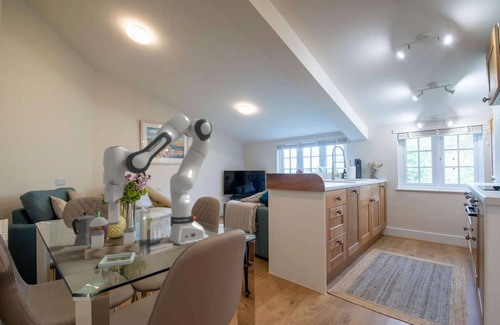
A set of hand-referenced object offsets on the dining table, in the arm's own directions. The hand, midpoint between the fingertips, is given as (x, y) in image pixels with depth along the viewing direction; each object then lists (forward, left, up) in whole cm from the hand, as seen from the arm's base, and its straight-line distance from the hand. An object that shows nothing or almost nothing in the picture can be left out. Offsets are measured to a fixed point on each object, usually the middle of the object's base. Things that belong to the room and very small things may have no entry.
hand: (114, 209), depth 107 cm
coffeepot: (+20, -25, -22) cm, 39 cm away
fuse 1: (+7, 0, -21) cm, 22 cm away
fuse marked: (0, 0, -7) cm, 7 cm away
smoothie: (+9, -11, -22) cm, 26 cm away
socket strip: (0, 0, -22) cm, 22 cm away
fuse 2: (-6, 0, -21) cm, 22 cm away
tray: (-4, +11, -22) cm, 25 cm away
